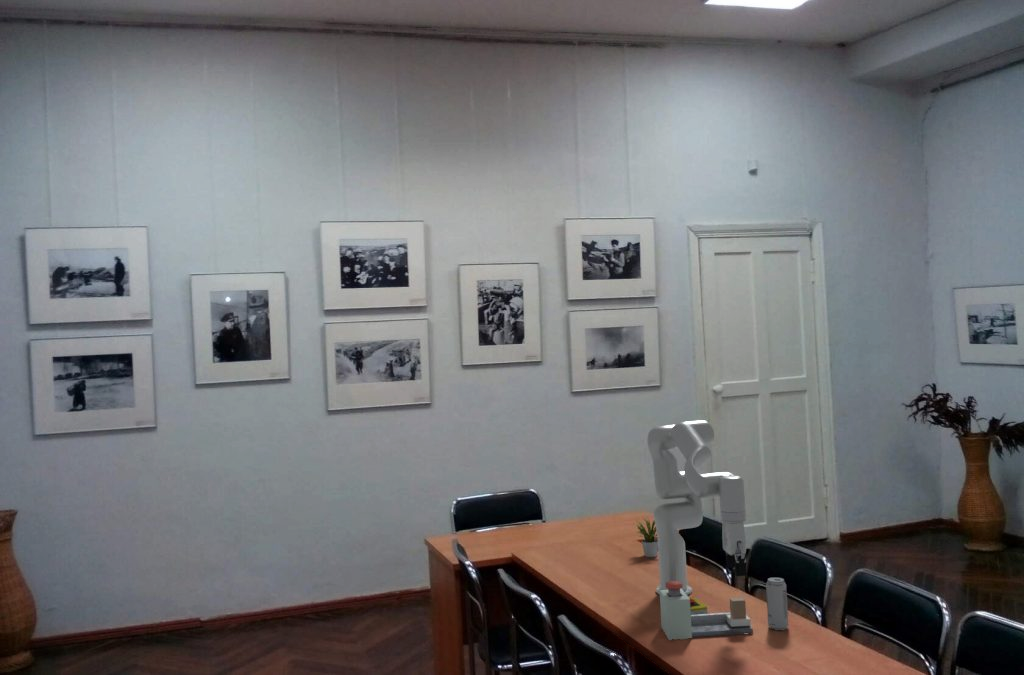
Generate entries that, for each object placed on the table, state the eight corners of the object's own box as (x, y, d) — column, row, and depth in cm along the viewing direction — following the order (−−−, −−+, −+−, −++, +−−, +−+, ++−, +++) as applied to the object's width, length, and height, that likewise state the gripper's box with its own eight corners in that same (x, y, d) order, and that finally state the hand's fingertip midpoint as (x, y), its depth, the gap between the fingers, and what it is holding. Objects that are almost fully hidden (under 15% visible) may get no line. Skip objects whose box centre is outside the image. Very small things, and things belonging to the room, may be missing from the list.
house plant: (669, 550, 369) (667, 512, 369) (672, 559, 355) (670, 519, 355) (635, 551, 370) (633, 513, 370) (637, 559, 357) (635, 520, 357)
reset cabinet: (661, 628, 274) (659, 590, 274) (683, 626, 274) (681, 588, 274) (669, 640, 263) (666, 600, 263) (691, 638, 263) (689, 599, 263)
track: (684, 627, 273) (683, 615, 273) (744, 623, 274) (743, 611, 274) (691, 637, 264) (690, 624, 264) (753, 633, 265) (752, 620, 265)
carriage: (726, 621, 271) (725, 597, 271) (745, 620, 272) (744, 596, 272) (731, 626, 266) (730, 602, 266) (750, 625, 267) (749, 601, 267)
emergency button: (683, 607, 281) (665, 594, 295) (684, 621, 281) (666, 607, 295) (710, 604, 282) (691, 591, 297) (710, 618, 282) (692, 604, 297)
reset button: (664, 600, 271) (663, 581, 271) (681, 599, 271) (680, 580, 271) (668, 605, 266) (667, 586, 266) (685, 604, 266) (684, 585, 266)
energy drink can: (769, 624, 272) (766, 576, 272) (789, 625, 270) (786, 577, 270) (767, 630, 267) (764, 581, 267) (787, 632, 265) (785, 582, 265)
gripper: (713, 511, 277) (717, 565, 277) (729, 522, 260) (732, 579, 260) (737, 510, 278) (740, 564, 277) (753, 520, 260) (757, 578, 260)
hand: (736, 571), depth 269 cm, fingers open, 9 cm apart
